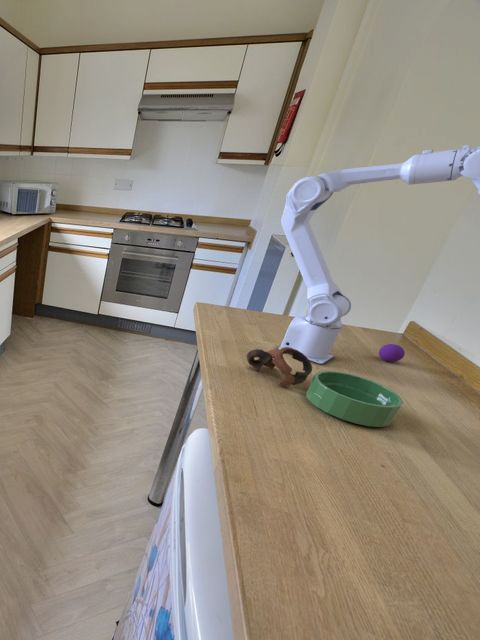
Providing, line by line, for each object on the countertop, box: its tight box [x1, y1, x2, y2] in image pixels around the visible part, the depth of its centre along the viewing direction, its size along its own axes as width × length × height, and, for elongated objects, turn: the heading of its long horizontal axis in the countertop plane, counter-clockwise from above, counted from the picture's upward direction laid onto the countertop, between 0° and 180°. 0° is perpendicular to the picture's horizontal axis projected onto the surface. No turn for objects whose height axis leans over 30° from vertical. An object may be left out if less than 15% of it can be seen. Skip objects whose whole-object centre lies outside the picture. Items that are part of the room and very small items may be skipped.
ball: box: [378, 343, 406, 363], centre depth 102 cm, size 4×4×4 cm
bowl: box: [305, 370, 404, 428], centre depth 81 cm, size 13×13×5 cm
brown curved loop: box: [246, 347, 313, 388], centre depth 91 cm, size 12×10×8 cm
